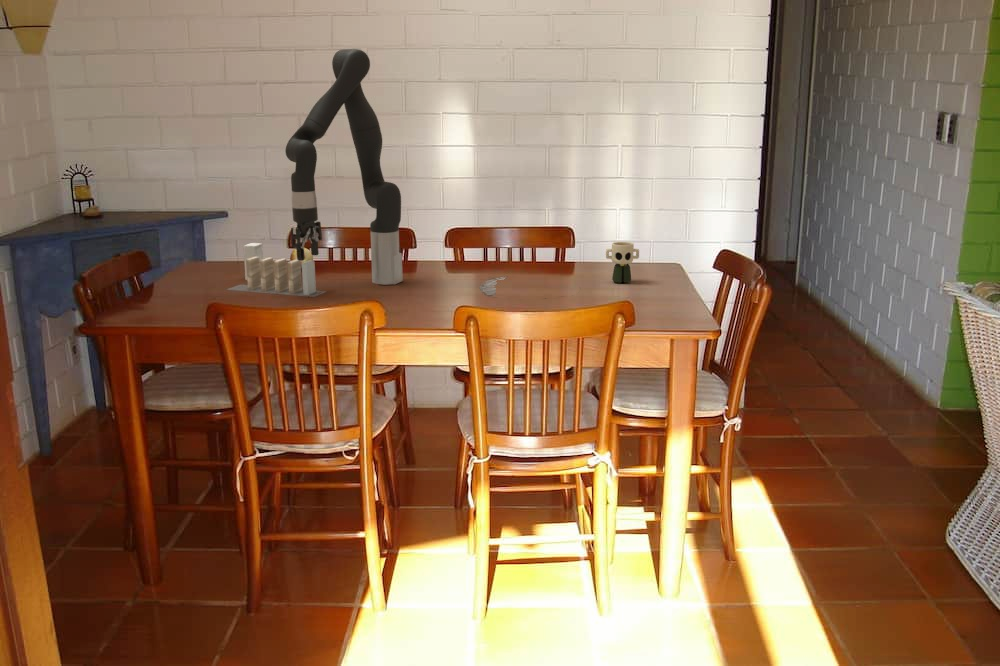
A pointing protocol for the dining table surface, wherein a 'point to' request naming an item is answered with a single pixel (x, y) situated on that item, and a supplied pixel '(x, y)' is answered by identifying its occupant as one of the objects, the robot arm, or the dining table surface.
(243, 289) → the mat
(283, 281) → the domino
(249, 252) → the skincare box
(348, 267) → the dining table surface
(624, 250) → the character mug
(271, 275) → the domino
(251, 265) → the domino
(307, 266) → the domino
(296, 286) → the domino
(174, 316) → the dining table surface
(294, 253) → the fruit
